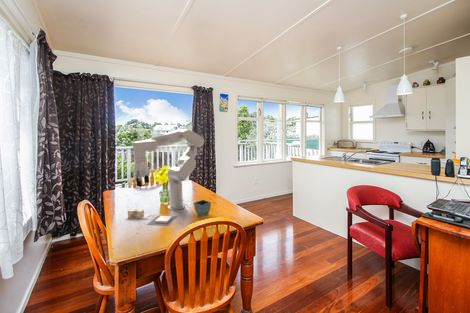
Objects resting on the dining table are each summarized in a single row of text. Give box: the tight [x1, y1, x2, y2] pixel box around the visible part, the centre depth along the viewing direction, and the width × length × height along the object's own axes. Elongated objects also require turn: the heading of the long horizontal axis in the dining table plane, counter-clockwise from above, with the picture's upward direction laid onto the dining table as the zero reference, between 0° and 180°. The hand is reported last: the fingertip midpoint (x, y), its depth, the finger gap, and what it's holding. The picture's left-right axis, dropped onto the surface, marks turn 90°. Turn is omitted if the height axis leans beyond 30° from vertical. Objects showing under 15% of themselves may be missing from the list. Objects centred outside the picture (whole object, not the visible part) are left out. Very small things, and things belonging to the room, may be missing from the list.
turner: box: [127, 209, 156, 220], centre depth 153 cm, size 17×7×5 cm, turn 83°
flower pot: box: [193, 199, 212, 217], centre depth 158 cm, size 9×9×9 cm
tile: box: [155, 215, 173, 223], centre depth 147 cm, size 8×1×8 cm
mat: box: [146, 214, 178, 227], centre depth 147 cm, size 16×14×1 cm
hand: (143, 184), depth 153 cm, fingers open, 9 cm apart
